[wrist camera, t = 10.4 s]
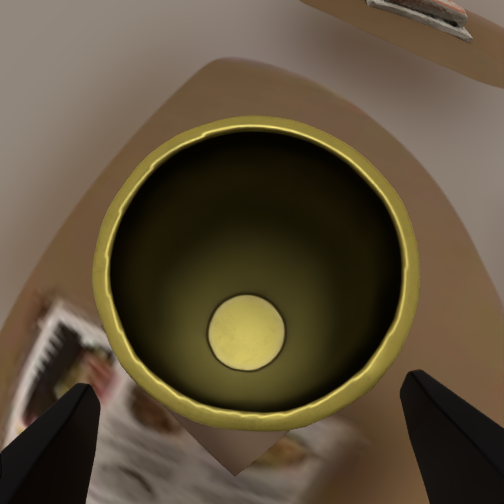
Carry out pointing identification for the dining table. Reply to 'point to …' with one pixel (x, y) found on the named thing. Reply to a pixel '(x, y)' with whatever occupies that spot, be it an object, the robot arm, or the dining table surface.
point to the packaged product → (429, 14)
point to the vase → (256, 274)
